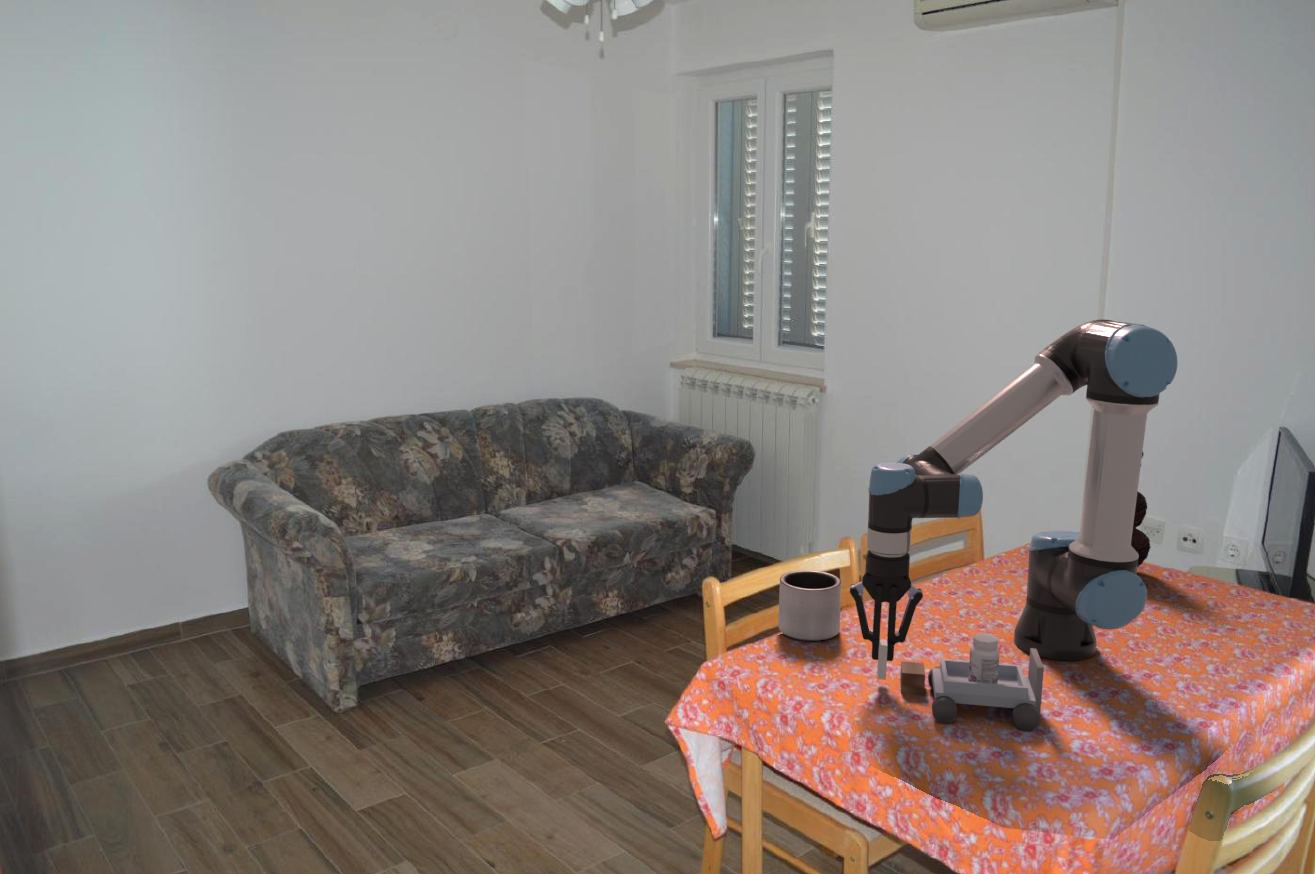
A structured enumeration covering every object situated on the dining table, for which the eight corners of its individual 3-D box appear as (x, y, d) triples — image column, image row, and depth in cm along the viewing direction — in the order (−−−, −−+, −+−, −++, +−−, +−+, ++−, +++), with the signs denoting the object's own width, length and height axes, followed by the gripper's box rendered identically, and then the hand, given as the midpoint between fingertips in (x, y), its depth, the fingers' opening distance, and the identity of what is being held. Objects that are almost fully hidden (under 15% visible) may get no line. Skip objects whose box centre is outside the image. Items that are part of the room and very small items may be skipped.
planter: (825, 648, 200) (827, 594, 198) (767, 635, 207) (768, 582, 205) (849, 627, 211) (851, 576, 209) (793, 615, 217) (794, 565, 215)
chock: (922, 683, 185) (923, 662, 184) (924, 695, 180) (925, 674, 179) (900, 681, 186) (901, 661, 185) (900, 693, 181) (901, 672, 180)
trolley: (1029, 695, 180) (1033, 641, 178) (1042, 732, 166) (1046, 675, 164) (927, 686, 183) (930, 634, 181) (931, 722, 170) (934, 666, 168)
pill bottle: (963, 678, 176) (966, 632, 174) (990, 677, 176) (993, 631, 175) (974, 690, 171) (977, 643, 170) (1001, 689, 172) (1005, 642, 170)
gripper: (925, 547, 181) (917, 670, 186) (850, 542, 184) (845, 664, 188) (927, 559, 174) (919, 688, 179) (850, 554, 176) (844, 681, 181)
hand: (881, 676), depth 183 cm, fingers closed
